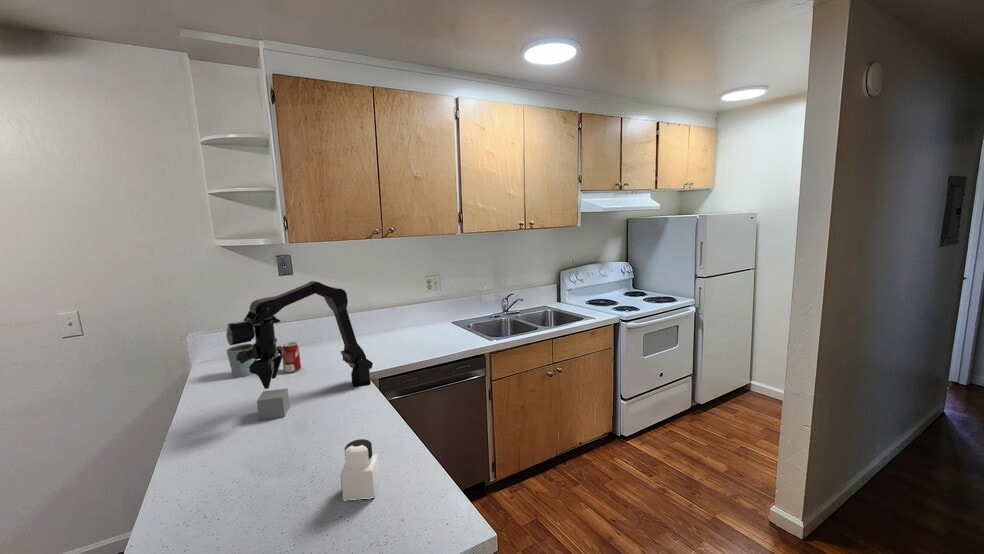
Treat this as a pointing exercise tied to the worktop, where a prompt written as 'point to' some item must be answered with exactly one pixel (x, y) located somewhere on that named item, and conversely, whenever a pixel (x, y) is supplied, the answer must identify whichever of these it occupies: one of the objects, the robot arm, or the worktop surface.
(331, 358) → the worktop surface
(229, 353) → the green plant pot
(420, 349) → the worktop surface
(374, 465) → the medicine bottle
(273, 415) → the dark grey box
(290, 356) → the soda can
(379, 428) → the worktop surface
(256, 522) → the worktop surface
